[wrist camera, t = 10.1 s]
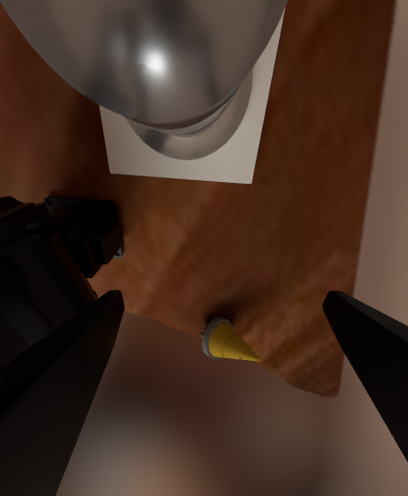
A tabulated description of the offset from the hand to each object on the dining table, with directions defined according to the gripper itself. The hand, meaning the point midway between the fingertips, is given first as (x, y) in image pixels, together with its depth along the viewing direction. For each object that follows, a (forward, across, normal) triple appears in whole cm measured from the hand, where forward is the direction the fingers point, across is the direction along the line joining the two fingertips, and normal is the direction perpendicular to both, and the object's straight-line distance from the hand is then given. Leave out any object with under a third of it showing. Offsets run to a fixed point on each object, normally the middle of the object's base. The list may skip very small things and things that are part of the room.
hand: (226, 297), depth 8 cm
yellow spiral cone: (+13, -3, +17) cm, 21 cm away
